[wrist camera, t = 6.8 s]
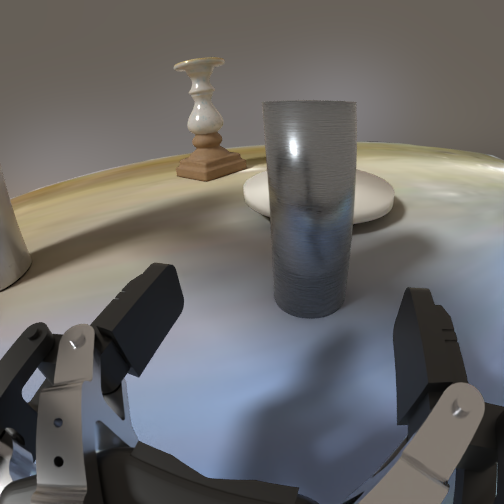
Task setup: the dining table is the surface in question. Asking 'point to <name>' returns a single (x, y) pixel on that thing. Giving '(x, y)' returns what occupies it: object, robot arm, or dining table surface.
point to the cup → (310, 201)
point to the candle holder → (206, 127)
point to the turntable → (366, 196)
